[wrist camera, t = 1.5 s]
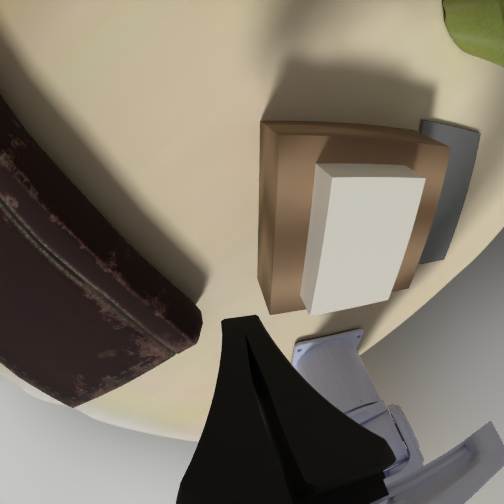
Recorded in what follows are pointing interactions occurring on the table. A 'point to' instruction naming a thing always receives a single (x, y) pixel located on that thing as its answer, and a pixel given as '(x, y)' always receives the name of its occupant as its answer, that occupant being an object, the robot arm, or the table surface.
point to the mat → (449, 185)
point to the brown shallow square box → (301, 191)
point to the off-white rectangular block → (357, 233)
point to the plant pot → (477, 27)
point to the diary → (75, 285)
